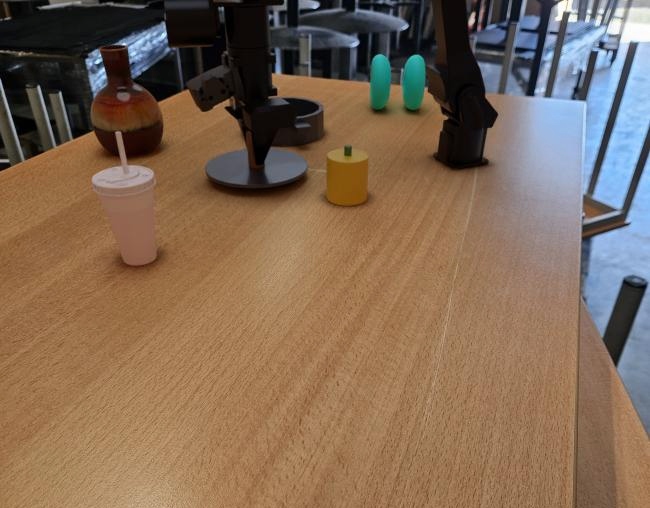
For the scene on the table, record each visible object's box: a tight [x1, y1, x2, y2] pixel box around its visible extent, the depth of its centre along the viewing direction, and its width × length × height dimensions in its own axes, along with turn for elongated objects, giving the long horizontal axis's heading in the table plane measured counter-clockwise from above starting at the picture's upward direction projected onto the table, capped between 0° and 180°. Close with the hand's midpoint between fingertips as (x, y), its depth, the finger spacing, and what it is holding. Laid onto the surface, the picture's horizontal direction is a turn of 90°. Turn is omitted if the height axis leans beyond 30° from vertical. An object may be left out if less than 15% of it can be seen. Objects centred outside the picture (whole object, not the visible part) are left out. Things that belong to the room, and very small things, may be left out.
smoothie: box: [91, 132, 158, 267], centre depth 61 cm, size 6×6×14 cm
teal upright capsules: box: [369, 53, 426, 111], centre depth 112 cm, size 10×10×10 cm
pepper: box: [325, 144, 370, 207], centre depth 77 cm, size 6×6×7 cm
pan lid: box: [204, 130, 309, 189], centre depth 83 cm, size 15×15×6 cm
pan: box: [269, 96, 325, 147], centre depth 101 cm, size 14×19×4 cm
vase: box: [89, 44, 164, 157], centre depth 90 cm, size 11×11×15 cm
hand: (256, 161), depth 84 cm, fingers closed on pan lid, 2 cm apart
